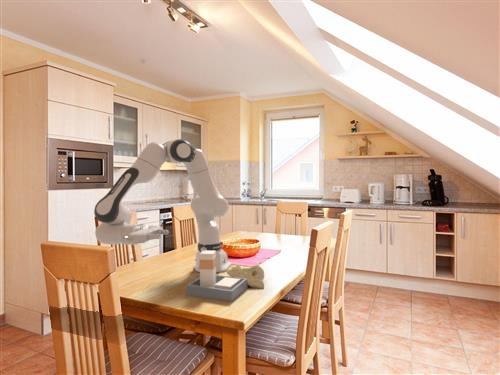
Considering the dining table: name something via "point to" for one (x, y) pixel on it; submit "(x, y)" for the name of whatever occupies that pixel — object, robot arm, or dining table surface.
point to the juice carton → (208, 268)
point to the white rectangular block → (227, 283)
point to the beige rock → (249, 275)
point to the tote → (217, 289)
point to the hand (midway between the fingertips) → (164, 234)
